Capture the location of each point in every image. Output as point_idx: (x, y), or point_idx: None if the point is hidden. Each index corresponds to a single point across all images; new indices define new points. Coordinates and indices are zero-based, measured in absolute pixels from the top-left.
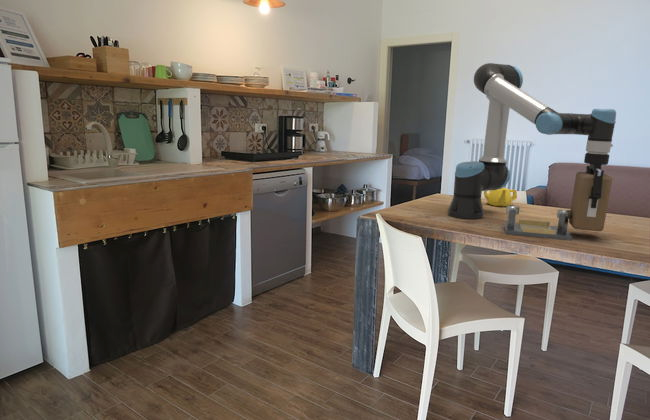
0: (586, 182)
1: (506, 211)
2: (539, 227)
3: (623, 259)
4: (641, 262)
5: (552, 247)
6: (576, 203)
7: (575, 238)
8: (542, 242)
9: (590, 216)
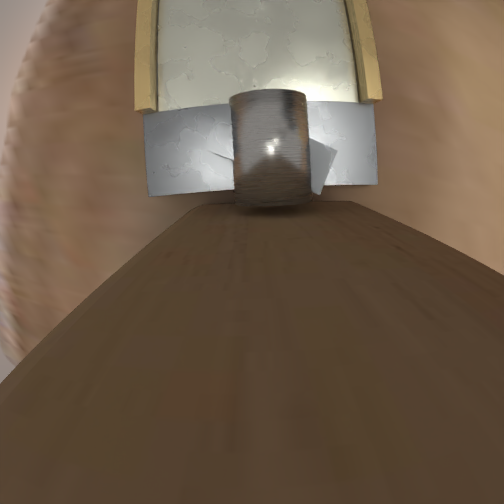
0: None
1: None
2: (289, 44)
3: (9, 328)
4: (15, 363)
5: (16, 122)
6: (148, 249)
7: None
8: (66, 77)
9: None
